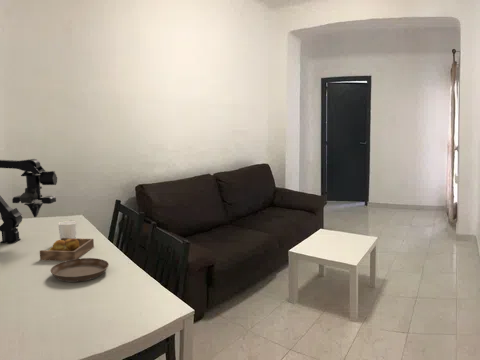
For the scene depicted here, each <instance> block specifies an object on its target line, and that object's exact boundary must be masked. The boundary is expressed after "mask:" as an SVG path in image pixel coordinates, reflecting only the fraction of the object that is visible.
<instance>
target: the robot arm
mask: <svg viewBox="0 0 480 360" xmlns="http://www.w3.org/2000/svg"><path fill="white" fill-rule="evenodd" d="M0 169H13V170H15V169H16V170H20V171H22V172H23V173H22V174H20V176H21V177H25V178H26V179H25V183H26V187H25V188H24V192H23V193H22V194H20V195H17V196H14V197H13V196H12V200H11V203H13V204H24V206H26V207H28V208H29V210H30V211H31V214H32V216H33V218H37V217H38V215H39V212H40V209H41V208H42V206H43V204H45V205H47V204H48V205H49V204H53V203H55V202H57V198H56V196H54V195H45V196H43V195H42V193H41V189H43V187H42V186H56V185H57V183H58V177H57V174H56V171H55V170H51V171H48V170H46V169H44V168H43V166H42V165H41V162H40V161H39V160H38V159H37V158H30V159H29V158H28V159H21V160H17V159H16V160H14V159H13V160H12V159H0ZM41 185H42V186H41ZM22 215H23V214H22V213H21V212H20V211H19V209H18V208H17V207H15V208H12V207H11V206H9V204H8V203H7V202H6V201H5V199H4V198H3V197H2V196H1V195H0V218H1V220H2V224H0V232H1V241H0V242H3V243H2V244H14V243H16V242H18V241H20V240H21V238H20V231H19V228H18V227H20V224H21V223H22V222H23V216H22Z"/></svg>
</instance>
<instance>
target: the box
mask: <svg viewBox="0 0 480 360" xmlns="http://www.w3.org/2000/svg"><path fill="white" fill-rule="evenodd" d="M68 239H77V240H78V242H79V248H77V249H76V250H74V251H49V249H47V250H43V249H42V250H39V261H54V262H55V261H57V262H64V261H68V260H73V259H81V258H82V257H83V256H84V255H86V254H87V253H88V252H89V251H90V250H92V249H93V248H95V244H94V238H77V237H76V238H61V240H64V241H66V240H68Z"/></svg>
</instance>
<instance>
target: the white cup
mask: <svg viewBox="0 0 480 360" xmlns="http://www.w3.org/2000/svg"><path fill="white" fill-rule="evenodd" d="M58 234H59V238H60V239H59V240H61V238H77V221H75V220H65V221H60V222H58Z"/></svg>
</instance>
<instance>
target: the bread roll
mask: <svg viewBox="0 0 480 360" xmlns="http://www.w3.org/2000/svg"><path fill="white" fill-rule="evenodd" d="M77 248H79V242H78V240H77V239H68V240H66V241H64V240H60V239H57V240H55V241H54V243H53V244H52V247H50V248H49V249H48V250H49V251H74V250H76V249H77Z"/></svg>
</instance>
